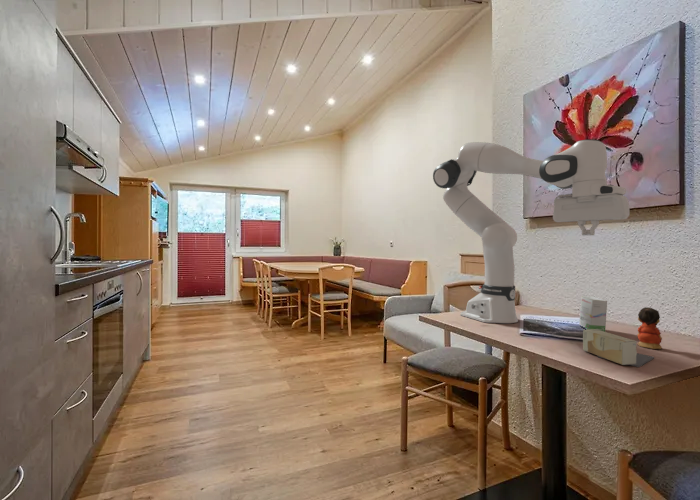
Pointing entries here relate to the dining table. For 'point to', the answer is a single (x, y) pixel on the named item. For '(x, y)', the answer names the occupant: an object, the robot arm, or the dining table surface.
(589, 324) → the ink box
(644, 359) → the felt mat
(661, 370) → the dining table surface
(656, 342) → the figurine
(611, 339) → the skincare box
